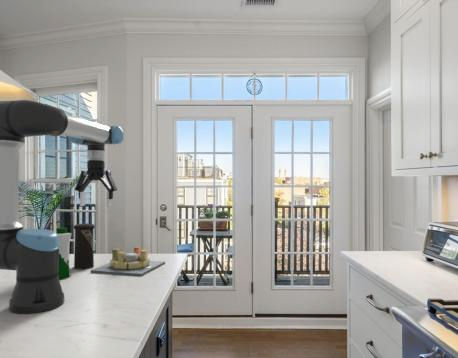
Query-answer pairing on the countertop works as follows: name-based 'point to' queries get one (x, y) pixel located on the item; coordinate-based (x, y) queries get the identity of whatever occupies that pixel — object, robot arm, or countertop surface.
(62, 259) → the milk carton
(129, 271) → the slate plate
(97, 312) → the countertop surface
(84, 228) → the container
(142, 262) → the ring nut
